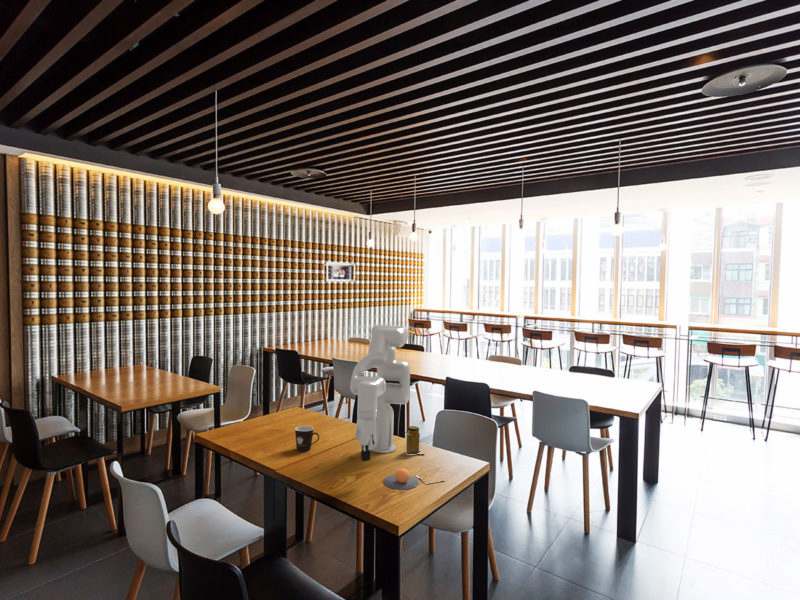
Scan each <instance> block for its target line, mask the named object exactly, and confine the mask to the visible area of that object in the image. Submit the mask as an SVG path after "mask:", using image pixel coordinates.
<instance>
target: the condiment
mask: <svg viewBox="0 0 800 600" xmlns="http://www.w3.org/2000/svg"><path fill="white" fill-rule="evenodd" d="M405 447H406V449H404V452H405V454H406V455H405V456H410V455H409V454H417V453H419V450H420V428H419V426H415V425H410V426H408V428H407V433H406V446H405ZM406 451H407V452H406Z"/></svg>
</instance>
